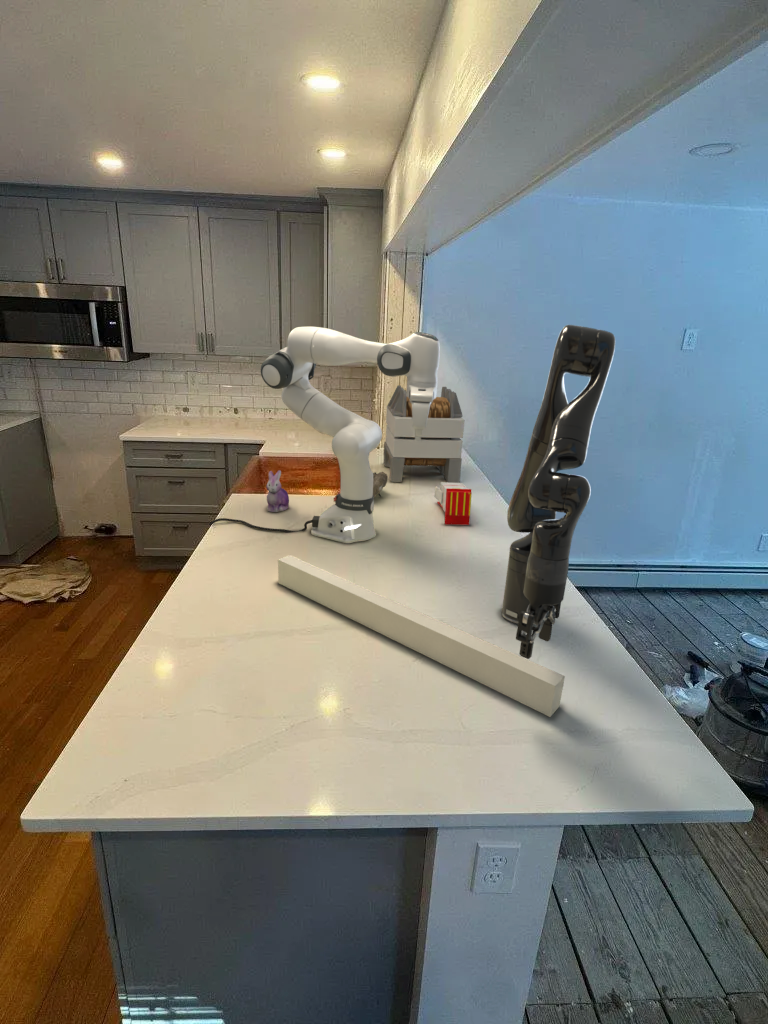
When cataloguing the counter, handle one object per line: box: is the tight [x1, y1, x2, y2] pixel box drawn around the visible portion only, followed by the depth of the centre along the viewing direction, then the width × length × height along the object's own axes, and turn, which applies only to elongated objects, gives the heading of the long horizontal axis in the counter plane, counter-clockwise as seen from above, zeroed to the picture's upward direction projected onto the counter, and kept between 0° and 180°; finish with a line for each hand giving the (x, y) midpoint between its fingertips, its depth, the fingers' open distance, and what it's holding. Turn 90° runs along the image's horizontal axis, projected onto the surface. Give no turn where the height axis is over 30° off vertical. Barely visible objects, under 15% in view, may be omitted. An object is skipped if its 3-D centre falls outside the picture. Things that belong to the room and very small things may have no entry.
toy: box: [434, 481, 472, 526], centre depth 221 cm, size 12×13×30 cm
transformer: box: [383, 384, 465, 483], centre depth 268 cm, size 34×33×41 cm
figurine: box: [266, 469, 290, 513], centre depth 216 cm, size 9×10×15 cm
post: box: [277, 554, 566, 718], centre depth 137 cm, size 82×4×7 cm, turn 50°
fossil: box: [373, 471, 389, 498], centre depth 236 cm, size 22×10×15 cm
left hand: (417, 438), depth 169 cm, fingers open, 8 cm apart
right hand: (535, 647), depth 113 cm, fingers open, 8 cm apart
